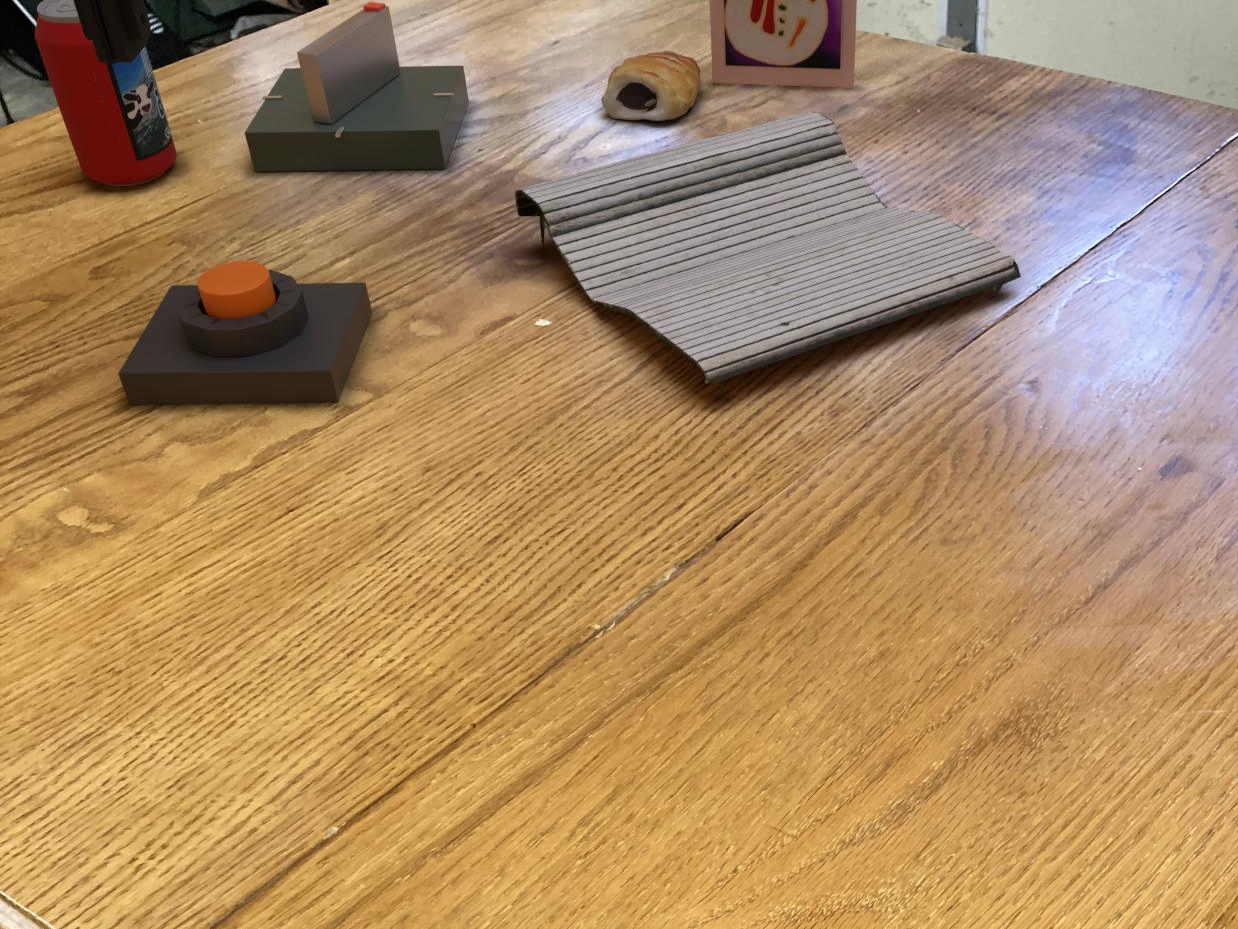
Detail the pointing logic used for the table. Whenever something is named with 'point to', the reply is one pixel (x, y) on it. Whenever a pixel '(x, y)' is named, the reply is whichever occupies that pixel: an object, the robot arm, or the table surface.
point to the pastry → (652, 87)
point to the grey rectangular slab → (349, 63)
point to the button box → (250, 348)
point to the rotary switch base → (362, 125)
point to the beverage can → (104, 102)
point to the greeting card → (783, 42)
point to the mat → (755, 245)
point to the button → (236, 290)
